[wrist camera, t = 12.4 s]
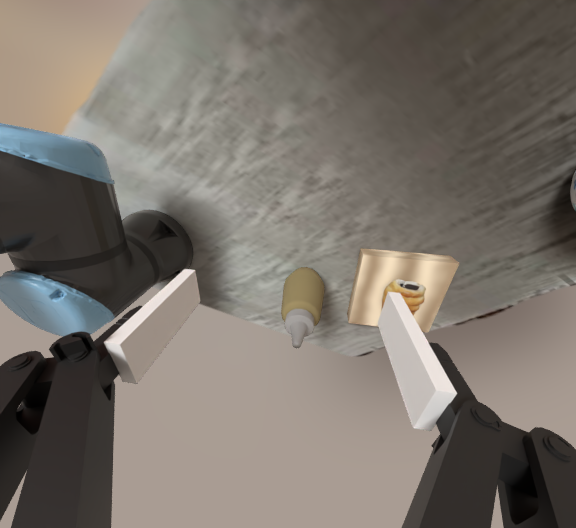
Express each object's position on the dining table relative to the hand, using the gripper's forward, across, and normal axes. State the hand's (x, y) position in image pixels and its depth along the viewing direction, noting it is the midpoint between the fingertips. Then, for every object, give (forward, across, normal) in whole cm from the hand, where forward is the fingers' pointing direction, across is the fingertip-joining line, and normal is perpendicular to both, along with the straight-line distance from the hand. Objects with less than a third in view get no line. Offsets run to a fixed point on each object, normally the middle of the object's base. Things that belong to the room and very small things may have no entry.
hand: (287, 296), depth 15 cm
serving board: (+27, +19, -15) cm, 37 cm away
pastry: (+24, +20, -15) cm, 35 cm away
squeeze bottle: (+28, +1, -15) cm, 32 cm away
